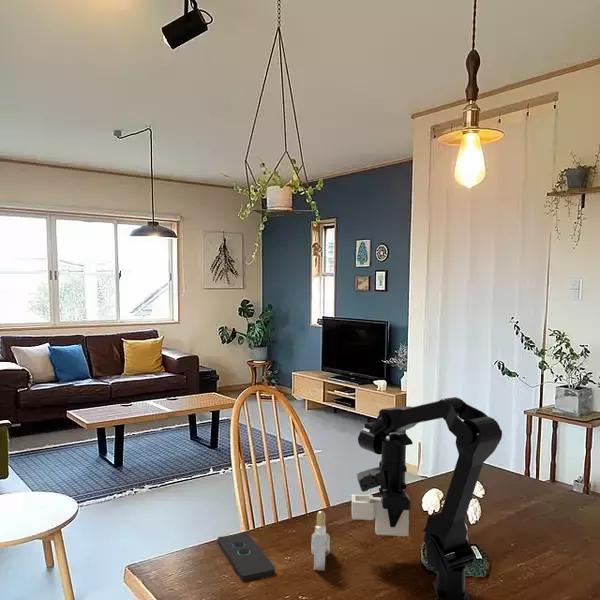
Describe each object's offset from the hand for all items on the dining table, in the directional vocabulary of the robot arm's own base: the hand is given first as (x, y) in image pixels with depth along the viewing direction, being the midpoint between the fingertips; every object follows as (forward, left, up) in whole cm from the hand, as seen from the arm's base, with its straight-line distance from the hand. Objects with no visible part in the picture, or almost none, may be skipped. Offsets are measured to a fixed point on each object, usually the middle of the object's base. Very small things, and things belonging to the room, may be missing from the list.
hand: (391, 524), depth 132 cm
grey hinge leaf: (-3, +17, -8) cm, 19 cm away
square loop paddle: (0, +3, -2) cm, 4 cm away
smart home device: (-4, +35, -8) cm, 36 cm away
